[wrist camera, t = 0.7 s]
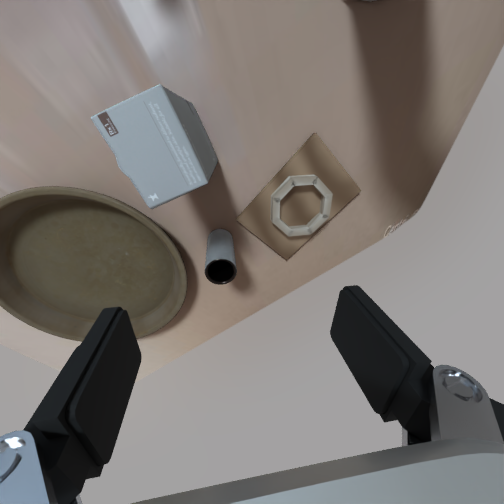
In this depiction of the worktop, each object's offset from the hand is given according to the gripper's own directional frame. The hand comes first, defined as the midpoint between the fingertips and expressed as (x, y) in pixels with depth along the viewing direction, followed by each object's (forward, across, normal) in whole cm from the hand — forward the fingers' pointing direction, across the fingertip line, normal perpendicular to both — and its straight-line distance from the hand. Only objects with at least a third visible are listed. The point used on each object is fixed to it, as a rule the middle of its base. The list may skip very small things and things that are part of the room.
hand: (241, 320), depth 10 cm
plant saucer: (+31, +22, +14) cm, 41 cm away
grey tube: (+30, 0, +10) cm, 32 cm away
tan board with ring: (+29, -13, +3) cm, 32 cm away
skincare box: (+30, +5, -6) cm, 31 cm away
